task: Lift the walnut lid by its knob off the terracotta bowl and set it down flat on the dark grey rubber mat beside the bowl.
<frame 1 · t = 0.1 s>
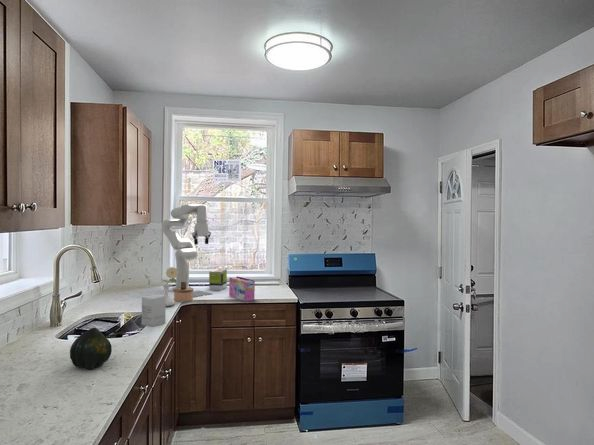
hand: (201, 244, 306), 37 cm above the countertop, tool pointing down, fingers open, 9 cm apart
bowl: (183, 299, 283), on the countertop
flower in vase: (167, 305, 264), on the countertop
gum box: (241, 298, 292), on the countertop
lid: (183, 290, 283), point 6 cm above the countertop, touching bowl
tea box: (218, 288, 326), on the countertop
squash: (90, 365, 160), on the countertop
mat: (196, 294, 302), on the countertop
grey canister: (153, 324, 221), on the countertop
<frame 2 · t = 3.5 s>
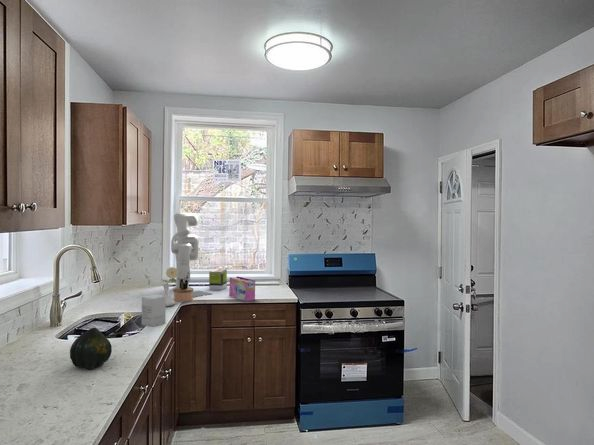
hand: (183, 288, 283), 8 cm above the countertop, tool pointing down, fingers closed on lid, 3 cm apart
lid: (183, 290, 283), point 6 cm above the countertop, touching bowl, gripper
everything else where it was.
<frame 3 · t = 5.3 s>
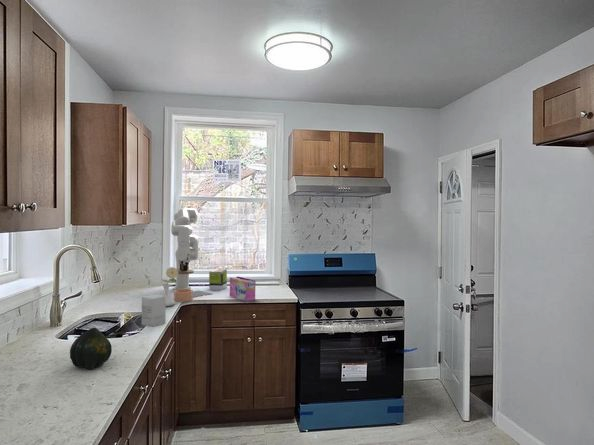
hand: (183, 270, 283), 20 cm above the countertop, tool pointing down, fingers closed on lid, 3 cm apart
lid: (183, 272, 283), point 19 cm above the countertop, touching gripper
everything else where it was.
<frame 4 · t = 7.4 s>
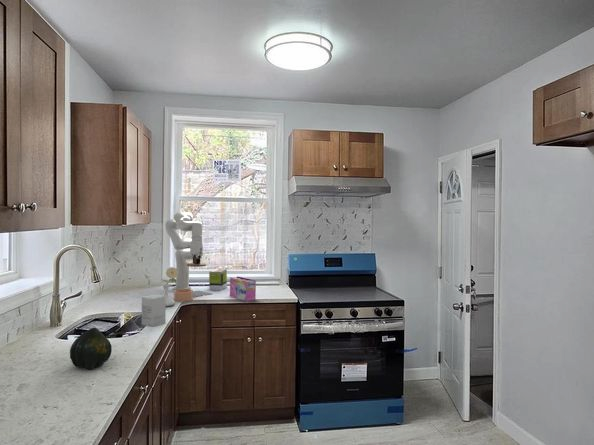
hand: (196, 263, 302), 23 cm above the countertop, tool pointing down, fingers closed on lid, 3 cm apart
lid: (196, 265, 302), point 21 cm above the countertop, touching gripper
everything else where it was.
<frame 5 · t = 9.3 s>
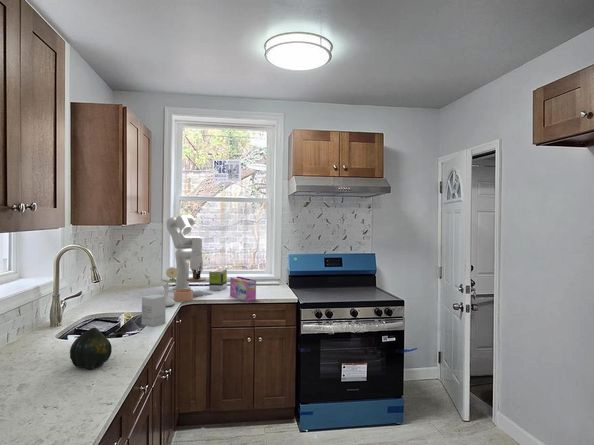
hand: (196, 278, 302), 12 cm above the countertop, tool pointing down, fingers closed on lid, 3 cm apart
lid: (196, 280, 302), point 10 cm above the countertop, touching gripper
everything else where it was.
when the fingers open (4 cm above the countertop, at t = 11.2 s): lid drops 1 cm, resting on mat.
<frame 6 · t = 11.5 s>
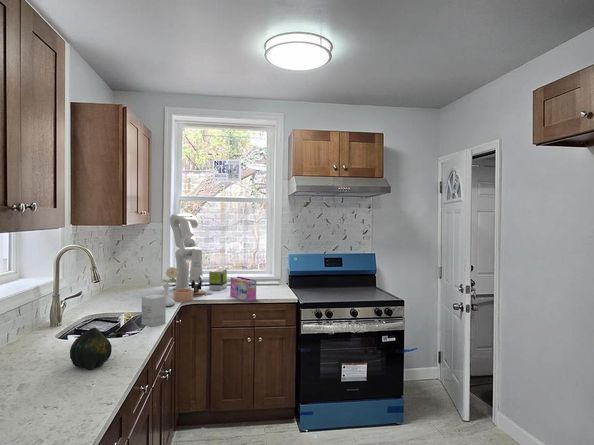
hand: (196, 288, 302), 4 cm above the countertop, tool pointing down, fingers open, 6 cm apart
lid: (196, 293, 302), resting on mat
everything else where it was.
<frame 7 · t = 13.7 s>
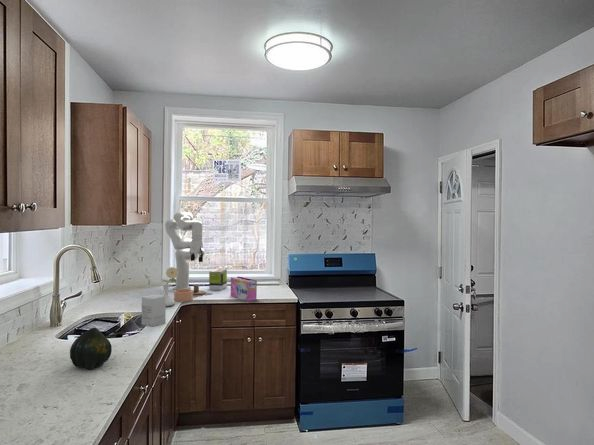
hand: (196, 261, 302), 24 cm above the countertop, tool pointing down, fingers open, 9 cm apart
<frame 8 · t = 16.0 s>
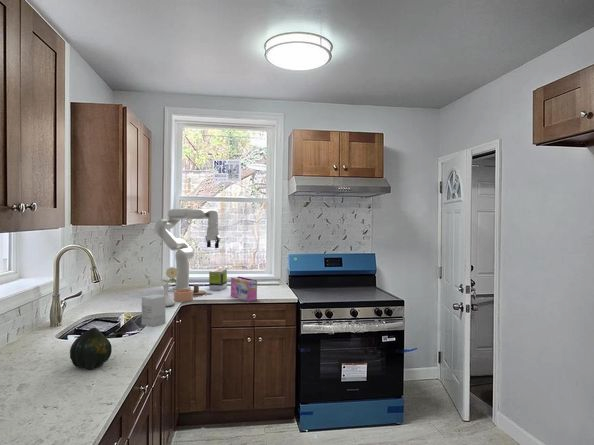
hand: (212, 247, 316), 33 cm above the countertop, tool pointing down, fingers open, 9 cm apart
at the end: lid inside the target area on the mat (0.1 cm from its centre), point 0.4 cm above the mat's base; lid touching mat; lid tilted 0° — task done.
